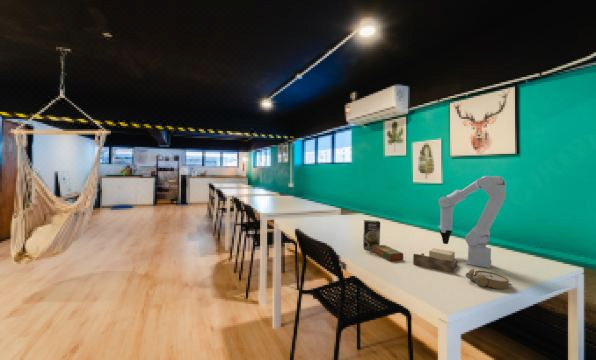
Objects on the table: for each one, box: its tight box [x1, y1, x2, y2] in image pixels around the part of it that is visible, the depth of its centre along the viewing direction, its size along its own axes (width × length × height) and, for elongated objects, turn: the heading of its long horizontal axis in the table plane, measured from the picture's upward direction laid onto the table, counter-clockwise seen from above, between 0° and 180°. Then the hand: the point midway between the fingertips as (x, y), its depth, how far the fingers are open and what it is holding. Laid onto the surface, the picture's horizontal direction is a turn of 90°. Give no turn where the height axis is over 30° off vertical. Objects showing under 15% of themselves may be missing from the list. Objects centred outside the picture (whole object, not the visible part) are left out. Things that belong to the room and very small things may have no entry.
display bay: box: [412, 252, 458, 274], centre depth 129 cm, size 17×14×5 cm
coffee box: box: [362, 219, 381, 250], centre depth 157 cm, size 9×6×16 cm
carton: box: [371, 244, 404, 262], centre depth 141 cm, size 8×16×4 cm, turn 16°
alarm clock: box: [465, 268, 513, 290], centre depth 107 cm, size 11×5×15 cm
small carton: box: [428, 247, 456, 261], centre depth 139 cm, size 10×8×4 cm
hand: (445, 243), depth 146 cm, fingers closed
